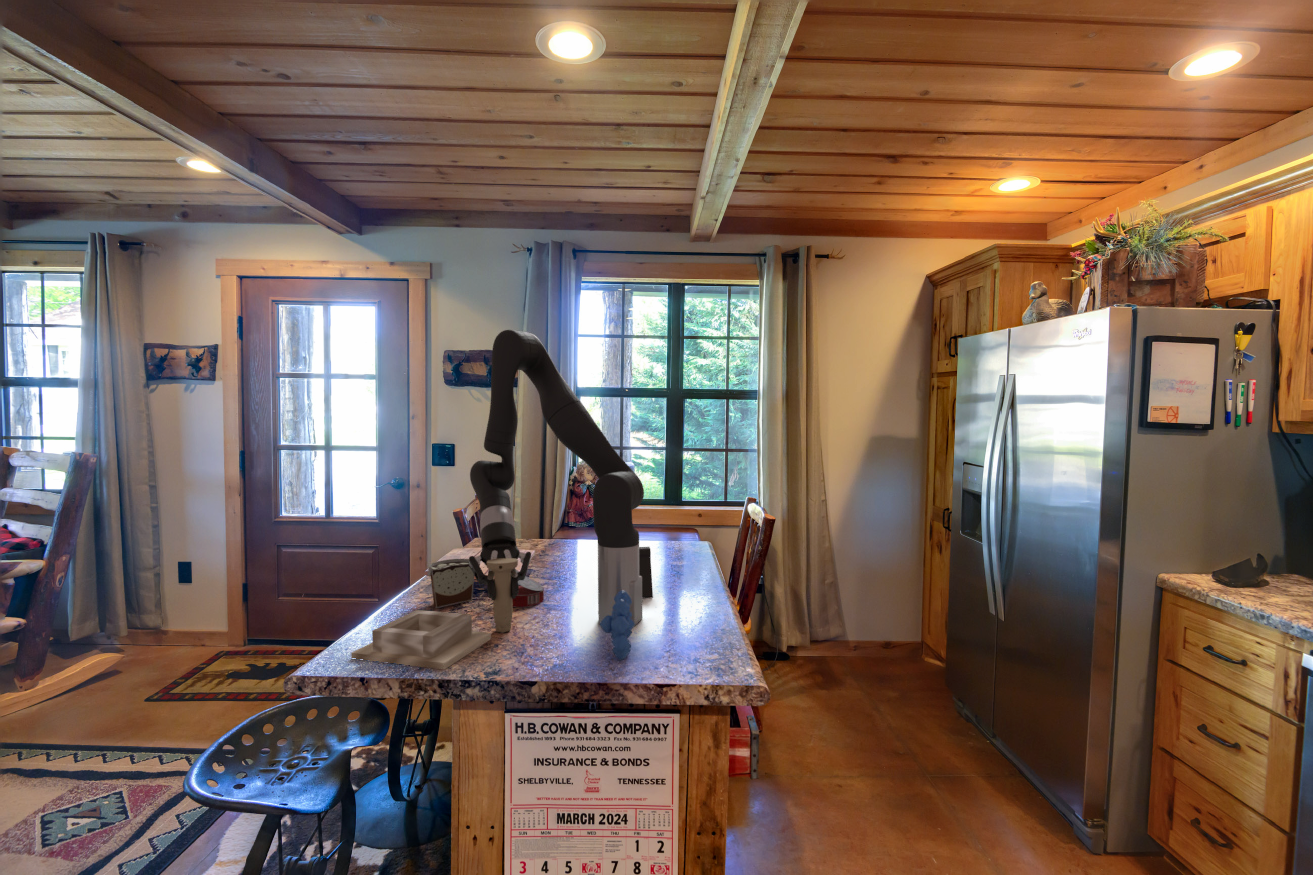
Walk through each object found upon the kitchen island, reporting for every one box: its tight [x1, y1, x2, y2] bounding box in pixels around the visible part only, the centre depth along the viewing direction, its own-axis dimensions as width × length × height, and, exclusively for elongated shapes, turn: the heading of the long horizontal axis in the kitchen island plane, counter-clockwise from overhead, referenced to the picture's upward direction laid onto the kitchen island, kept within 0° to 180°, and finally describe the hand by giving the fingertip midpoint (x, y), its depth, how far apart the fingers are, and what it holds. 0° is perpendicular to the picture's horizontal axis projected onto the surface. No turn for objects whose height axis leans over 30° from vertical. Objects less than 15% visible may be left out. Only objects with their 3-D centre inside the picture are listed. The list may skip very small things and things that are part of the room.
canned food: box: [512, 569, 545, 608], centre depth 150 cm, size 11×10×10 cm
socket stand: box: [350, 609, 492, 671], centre depth 118 cm, size 20×16×5 cm
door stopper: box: [639, 546, 654, 598], centre depth 156 cm, size 9×6×12 cm, turn 10°
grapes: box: [599, 590, 636, 661], centre depth 114 cm, size 12×7×12 cm, turn 179°
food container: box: [427, 558, 475, 609], centre depth 149 cm, size 12×6×10 cm, turn 135°
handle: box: [486, 558, 519, 634], centre depth 128 cm, size 5×6×15 cm
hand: (503, 597), depth 126 cm, fingers closed on handle, 3 cm apart
